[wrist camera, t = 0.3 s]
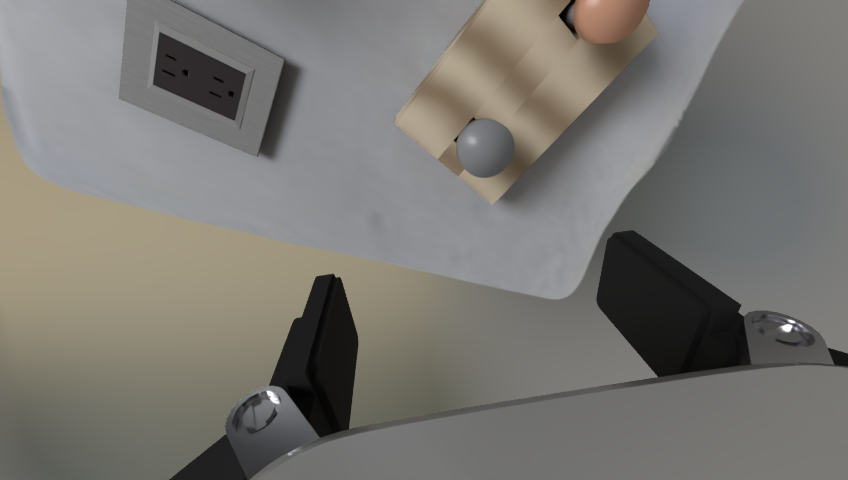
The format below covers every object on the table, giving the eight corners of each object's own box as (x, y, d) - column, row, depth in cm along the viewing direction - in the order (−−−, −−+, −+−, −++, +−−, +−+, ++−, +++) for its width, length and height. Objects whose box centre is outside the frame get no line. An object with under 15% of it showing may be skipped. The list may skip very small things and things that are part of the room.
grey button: (470, 100, 33) (487, 108, 27) (503, 132, 35) (525, 146, 29) (438, 139, 34) (447, 155, 29) (471, 168, 36) (486, 188, 31)
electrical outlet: (290, 59, 33) (283, 59, 31) (263, 152, 38) (256, 157, 35) (145, -16, 30) (126, -22, 28) (133, 96, 34) (116, 98, 32)
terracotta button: (580, -34, 28) (627, -58, 23) (611, 11, 30) (662, 0, 25) (537, 18, 30) (571, 9, 24) (569, 58, 32) (608, 58, 26)
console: (543, -81, 30) (569, -106, 25) (625, 36, 35) (658, 33, 30) (395, 117, 37) (396, 125, 32) (482, 189, 42) (492, 205, 37)
